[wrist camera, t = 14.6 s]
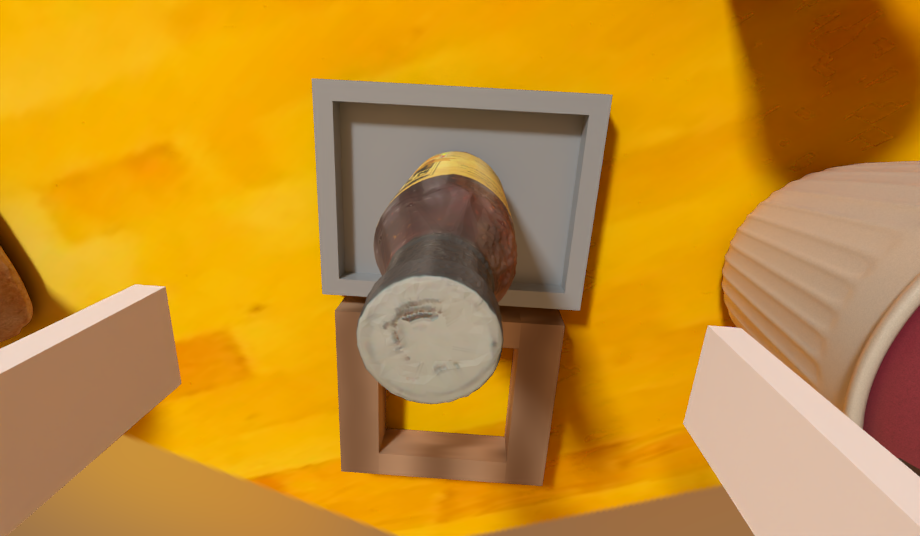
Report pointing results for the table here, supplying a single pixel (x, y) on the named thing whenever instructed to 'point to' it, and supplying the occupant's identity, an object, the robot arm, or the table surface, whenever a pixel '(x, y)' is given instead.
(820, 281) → the canister
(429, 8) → the table surface
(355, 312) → the bottle stand
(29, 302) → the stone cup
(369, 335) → the sauce bottle
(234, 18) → the table surface
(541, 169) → the tray
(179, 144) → the table surface
